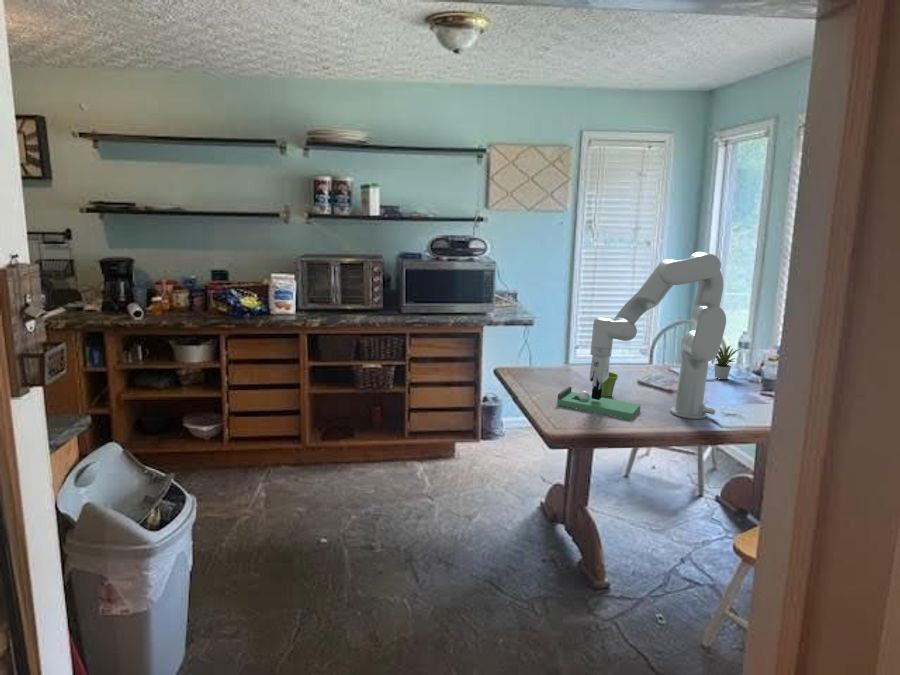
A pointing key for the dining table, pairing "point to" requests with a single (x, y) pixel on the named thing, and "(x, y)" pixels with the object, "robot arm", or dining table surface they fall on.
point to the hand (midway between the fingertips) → (596, 398)
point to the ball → (583, 396)
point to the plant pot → (609, 385)
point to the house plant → (723, 363)
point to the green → (598, 405)
